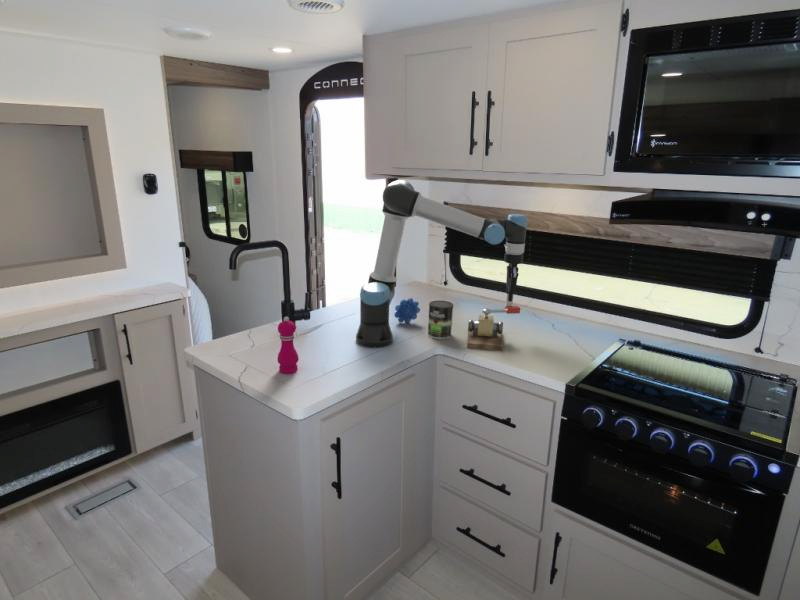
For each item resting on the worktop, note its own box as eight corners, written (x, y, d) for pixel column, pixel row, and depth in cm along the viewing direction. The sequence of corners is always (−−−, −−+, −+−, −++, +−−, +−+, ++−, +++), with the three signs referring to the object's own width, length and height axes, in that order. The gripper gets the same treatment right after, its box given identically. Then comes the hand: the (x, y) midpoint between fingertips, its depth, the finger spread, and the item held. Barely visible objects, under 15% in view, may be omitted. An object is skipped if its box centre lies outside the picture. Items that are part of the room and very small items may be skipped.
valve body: (467, 336, 202) (469, 314, 199) (467, 331, 208) (469, 309, 205) (501, 339, 200) (504, 316, 197) (501, 334, 206) (503, 312, 203)
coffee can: (446, 341, 203) (447, 308, 198) (423, 336, 207) (425, 304, 203) (455, 333, 211) (457, 302, 207) (433, 329, 216) (435, 298, 212)
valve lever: (484, 314, 199) (484, 308, 199) (481, 312, 202) (481, 306, 202) (519, 313, 202) (520, 308, 201) (516, 311, 205) (517, 305, 204)
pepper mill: (300, 366, 175) (298, 313, 169) (297, 374, 168) (295, 320, 162) (280, 365, 175) (277, 313, 169) (276, 374, 168) (273, 320, 162)
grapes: (419, 320, 227) (420, 295, 223) (419, 325, 220) (420, 299, 217) (394, 319, 227) (395, 295, 223) (394, 324, 220) (394, 299, 217)
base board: (467, 347, 196) (467, 343, 196) (467, 330, 215) (468, 326, 215) (502, 350, 194) (502, 345, 194) (500, 333, 213) (500, 328, 213)
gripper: (502, 249, 204) (497, 302, 211) (507, 255, 192) (502, 312, 199) (520, 249, 204) (514, 303, 211) (526, 256, 191) (520, 313, 199)
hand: (508, 307), depth 205 cm, fingers closed
